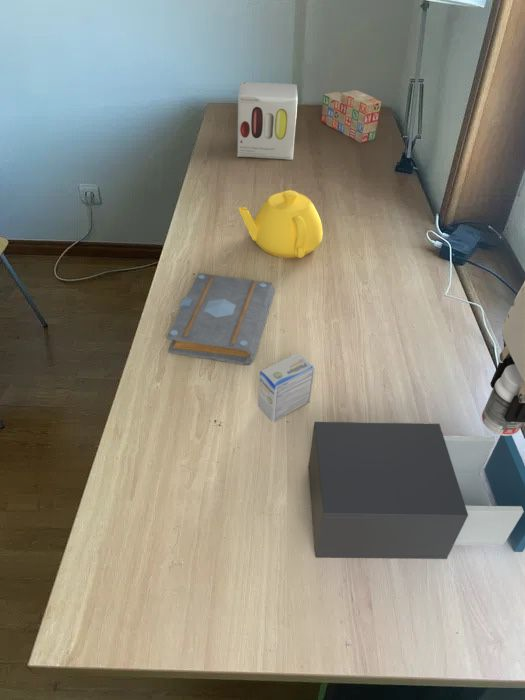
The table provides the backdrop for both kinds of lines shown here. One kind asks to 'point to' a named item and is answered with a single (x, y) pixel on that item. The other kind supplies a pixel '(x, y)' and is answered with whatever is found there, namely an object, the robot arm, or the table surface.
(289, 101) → the supplement box
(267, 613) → the table surface
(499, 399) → the pill bottle
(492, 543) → the drawer
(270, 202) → the teapot
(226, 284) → the book
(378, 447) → the drawer cabinet
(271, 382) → the medicine box
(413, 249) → the table surface
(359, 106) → the stack of blocks
